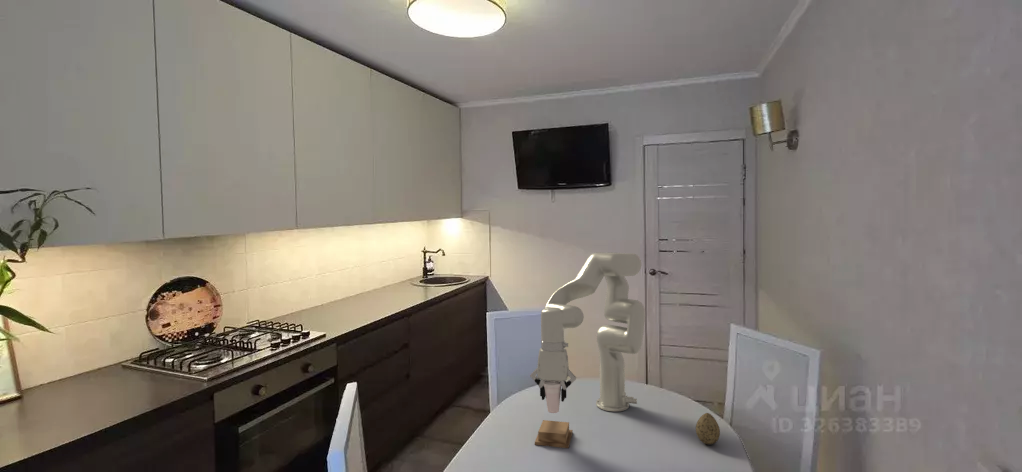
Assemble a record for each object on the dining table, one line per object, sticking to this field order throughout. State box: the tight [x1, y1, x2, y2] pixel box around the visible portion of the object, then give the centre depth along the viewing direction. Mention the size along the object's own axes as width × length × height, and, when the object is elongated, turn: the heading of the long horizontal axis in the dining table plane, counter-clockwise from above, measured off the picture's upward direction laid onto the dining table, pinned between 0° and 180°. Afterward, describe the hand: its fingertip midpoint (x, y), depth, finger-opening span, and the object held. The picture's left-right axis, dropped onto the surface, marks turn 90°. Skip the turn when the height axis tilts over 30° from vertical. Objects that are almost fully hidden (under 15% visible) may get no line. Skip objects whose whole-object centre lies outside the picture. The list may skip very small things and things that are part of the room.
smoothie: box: [543, 380, 562, 414], centre depth 154 cm, size 6×6×14 cm
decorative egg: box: [695, 412, 721, 446], centre depth 149 cm, size 7×7×10 cm
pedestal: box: [534, 419, 573, 449], centre depth 155 cm, size 11×11×4 cm
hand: (553, 398), depth 154 cm, fingers closed on smoothie, 5 cm apart
